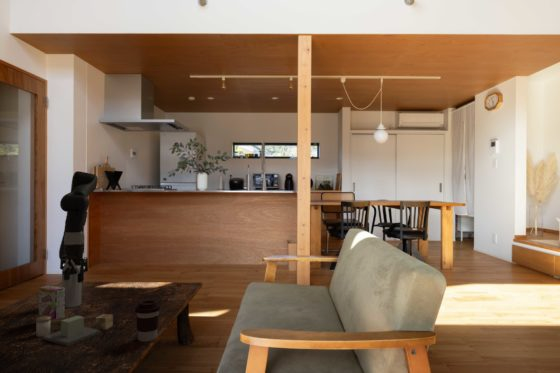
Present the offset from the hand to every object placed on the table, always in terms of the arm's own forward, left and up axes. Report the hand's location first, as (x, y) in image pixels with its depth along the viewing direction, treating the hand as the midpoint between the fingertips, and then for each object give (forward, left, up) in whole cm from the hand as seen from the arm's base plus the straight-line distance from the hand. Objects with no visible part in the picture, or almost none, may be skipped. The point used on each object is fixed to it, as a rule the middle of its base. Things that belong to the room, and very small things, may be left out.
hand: (73, 281), depth 154 cm
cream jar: (-13, -4, -23) cm, 27 cm away
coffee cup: (+30, +11, -23) cm, 40 cm away
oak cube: (+3, +13, -23) cm, 27 cm away
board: (0, 0, -23) cm, 23 cm away
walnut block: (-14, +3, -23) cm, 27 cm away
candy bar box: (-23, +6, -23) cm, 33 cm away
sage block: (0, 0, -22) cm, 22 cm away
